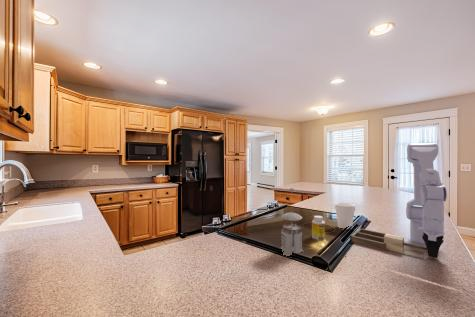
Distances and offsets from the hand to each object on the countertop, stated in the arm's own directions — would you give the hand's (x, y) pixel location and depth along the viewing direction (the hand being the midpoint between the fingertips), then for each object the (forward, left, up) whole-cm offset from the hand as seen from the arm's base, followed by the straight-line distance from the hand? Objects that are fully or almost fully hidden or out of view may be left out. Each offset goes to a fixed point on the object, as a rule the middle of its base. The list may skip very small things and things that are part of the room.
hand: (432, 255), depth 78 cm
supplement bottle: (+9, -39, -2) cm, 40 cm away
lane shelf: (-4, -15, -2) cm, 15 cm away
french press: (+31, -40, -2) cm, 50 cm away
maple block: (0, -7, -1) cm, 7 cm away
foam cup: (-15, -35, -2) cm, 38 cm away
